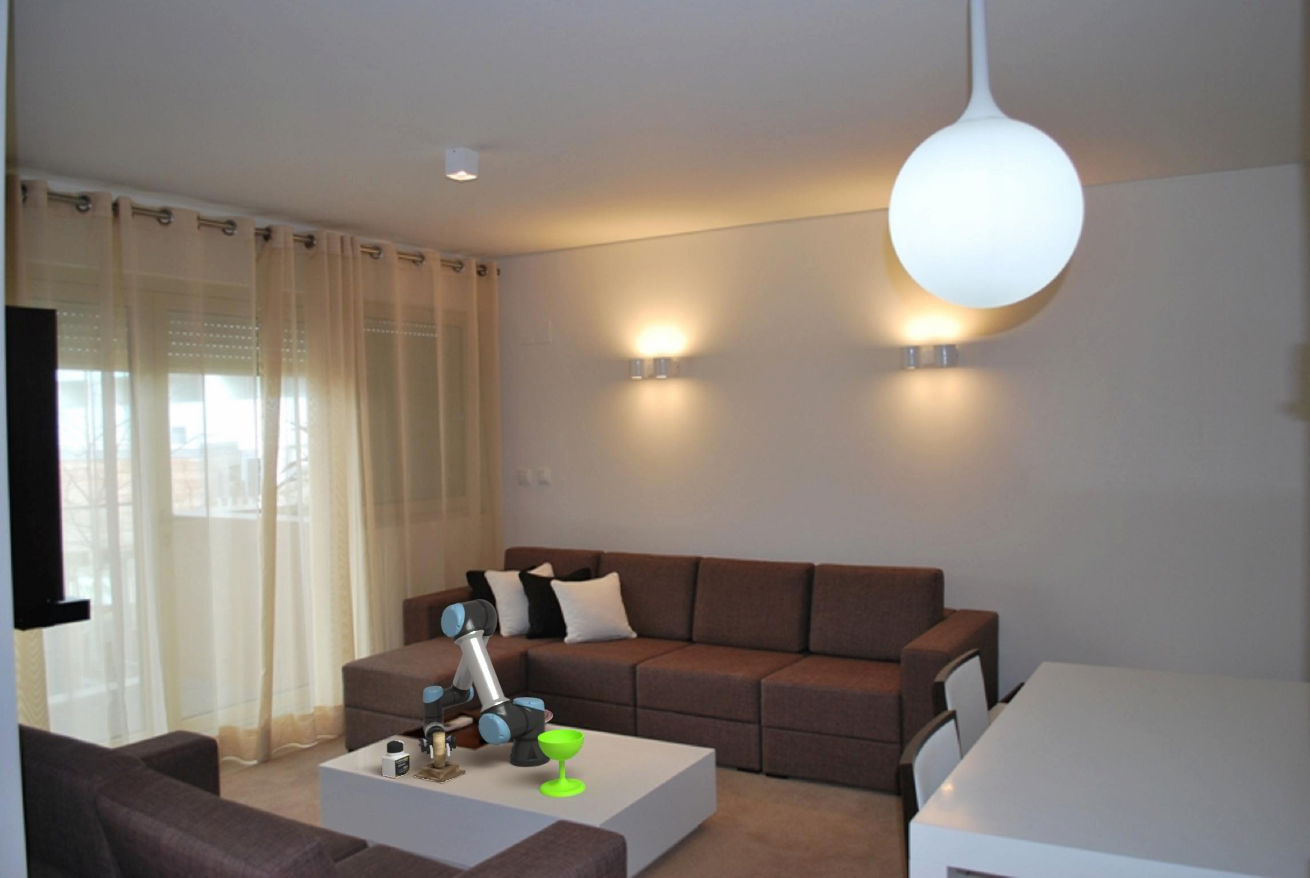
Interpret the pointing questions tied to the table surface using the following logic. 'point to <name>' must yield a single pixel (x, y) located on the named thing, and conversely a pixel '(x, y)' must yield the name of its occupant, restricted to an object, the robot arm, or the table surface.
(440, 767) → the oak dowel
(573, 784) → the wineglass
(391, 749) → the medicine bottle
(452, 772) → the brown stepped square base
